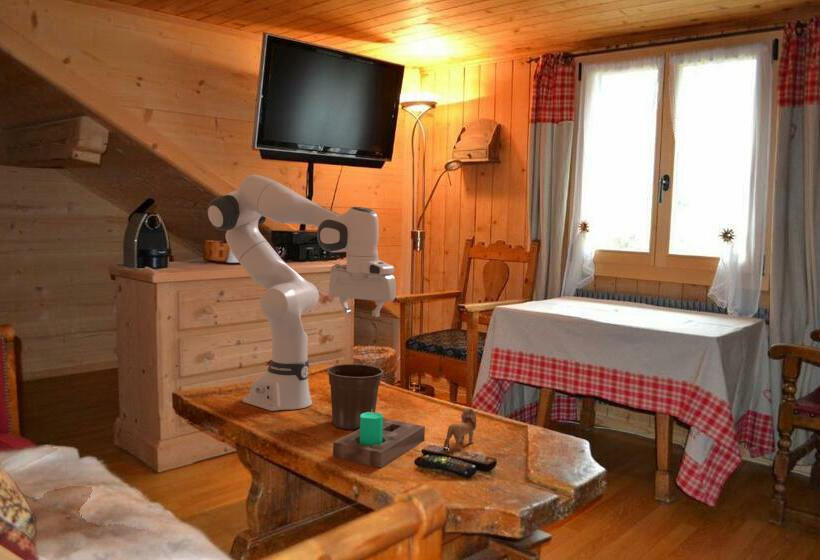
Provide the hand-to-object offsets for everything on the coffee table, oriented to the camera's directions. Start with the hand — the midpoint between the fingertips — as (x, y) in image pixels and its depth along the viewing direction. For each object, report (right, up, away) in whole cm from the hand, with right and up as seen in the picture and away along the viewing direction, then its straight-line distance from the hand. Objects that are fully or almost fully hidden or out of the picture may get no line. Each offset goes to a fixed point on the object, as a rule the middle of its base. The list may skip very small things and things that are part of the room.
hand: (361, 315), depth 194 cm
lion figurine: (+27, -35, -6) cm, 45 cm away
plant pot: (-3, -33, +9) cm, 34 cm away
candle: (+4, -35, -16) cm, 39 cm away
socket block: (+6, -35, -11) cm, 37 cm away
